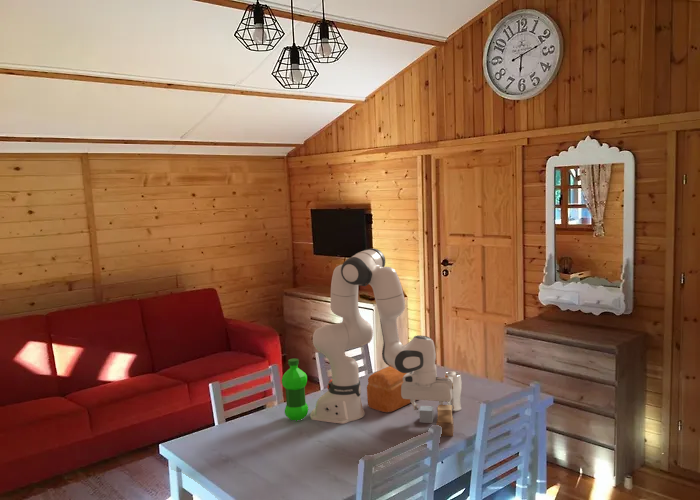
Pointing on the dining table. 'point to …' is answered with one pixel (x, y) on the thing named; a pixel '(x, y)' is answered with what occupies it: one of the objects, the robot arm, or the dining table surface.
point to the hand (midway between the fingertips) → (427, 410)
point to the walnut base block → (446, 428)
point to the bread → (386, 390)
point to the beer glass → (455, 389)
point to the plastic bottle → (295, 391)
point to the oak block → (445, 413)
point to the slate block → (426, 414)
